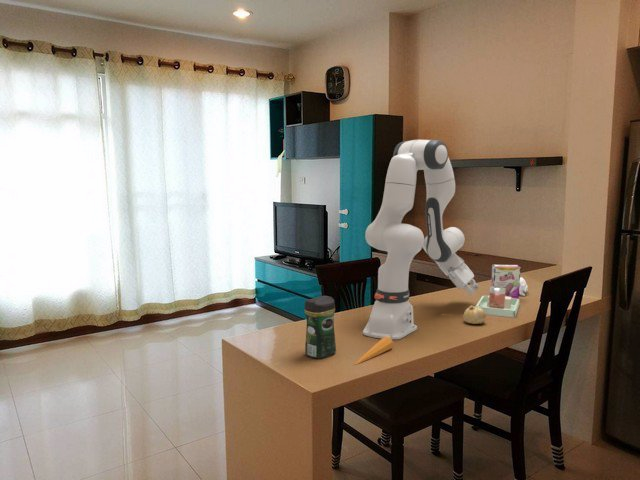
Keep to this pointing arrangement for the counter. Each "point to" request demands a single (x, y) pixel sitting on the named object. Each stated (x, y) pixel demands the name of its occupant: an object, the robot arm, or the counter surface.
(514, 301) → the mint green tray
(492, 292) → the pink glass candle
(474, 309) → the onion
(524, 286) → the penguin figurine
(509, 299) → the cream rectangular block
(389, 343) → the carrot
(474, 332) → the counter surface
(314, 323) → the coffee jar
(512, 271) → the candy bar box
